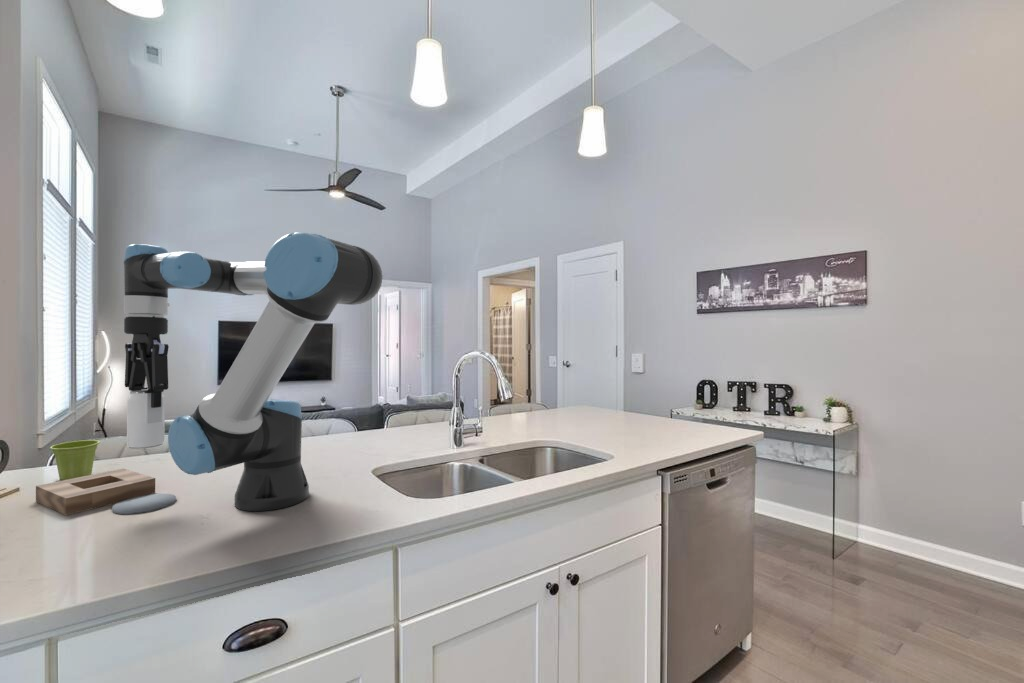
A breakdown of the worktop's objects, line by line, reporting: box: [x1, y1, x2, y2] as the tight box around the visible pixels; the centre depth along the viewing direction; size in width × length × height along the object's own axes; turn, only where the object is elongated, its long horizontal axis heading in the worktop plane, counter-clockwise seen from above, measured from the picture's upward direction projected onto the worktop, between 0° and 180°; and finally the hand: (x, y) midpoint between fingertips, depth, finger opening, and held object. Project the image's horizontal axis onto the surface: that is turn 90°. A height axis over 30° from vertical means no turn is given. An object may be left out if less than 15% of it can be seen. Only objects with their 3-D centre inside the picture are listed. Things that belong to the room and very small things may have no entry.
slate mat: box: [111, 493, 177, 515], centre depth 101 cm, size 11×11×1 cm
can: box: [126, 389, 166, 450], centre depth 101 cm, size 6×6×12 cm
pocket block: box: [35, 468, 156, 516], centre depth 106 cm, size 16×16×4 cm
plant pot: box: [49, 439, 101, 481], centre depth 120 cm, size 9×9×9 cm
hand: (145, 420), depth 101 cm, fingers closed on can, 6 cm apart
